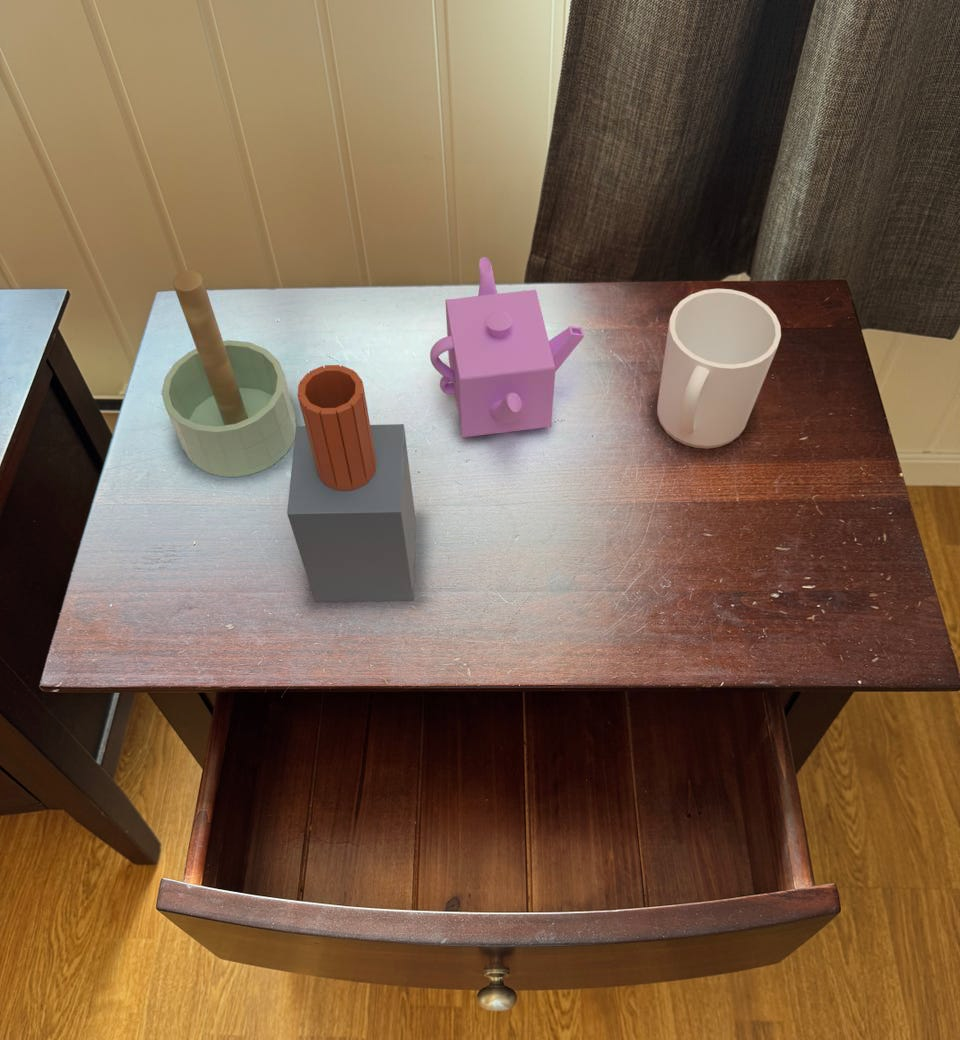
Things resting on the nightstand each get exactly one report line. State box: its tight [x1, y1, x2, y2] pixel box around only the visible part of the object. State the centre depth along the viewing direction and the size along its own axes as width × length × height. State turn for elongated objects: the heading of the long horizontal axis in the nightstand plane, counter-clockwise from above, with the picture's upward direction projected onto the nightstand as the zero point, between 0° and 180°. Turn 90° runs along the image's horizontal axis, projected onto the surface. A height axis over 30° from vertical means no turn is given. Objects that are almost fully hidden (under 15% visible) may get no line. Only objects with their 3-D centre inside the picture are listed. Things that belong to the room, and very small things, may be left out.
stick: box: [172, 270, 248, 425], centre depth 79 cm, size 2×2×16 cm
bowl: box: [161, 339, 297, 478], centre depth 84 cm, size 10×10×6 cm
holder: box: [286, 364, 417, 603], centre depth 71 cm, size 8×8×20 cm
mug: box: [656, 288, 782, 450], centre depth 82 cm, size 11×9×10 cm
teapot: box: [429, 256, 585, 438], centre depth 84 cm, size 18×13×10 cm
